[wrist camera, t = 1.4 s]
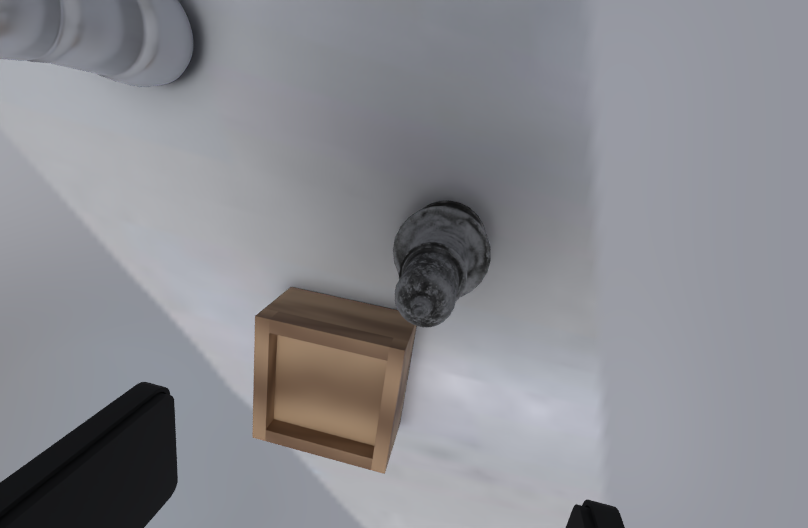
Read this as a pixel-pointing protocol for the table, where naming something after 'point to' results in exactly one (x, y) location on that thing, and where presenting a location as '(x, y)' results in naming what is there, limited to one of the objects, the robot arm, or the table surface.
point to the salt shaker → (438, 261)
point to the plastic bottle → (100, 37)
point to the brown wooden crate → (331, 376)
